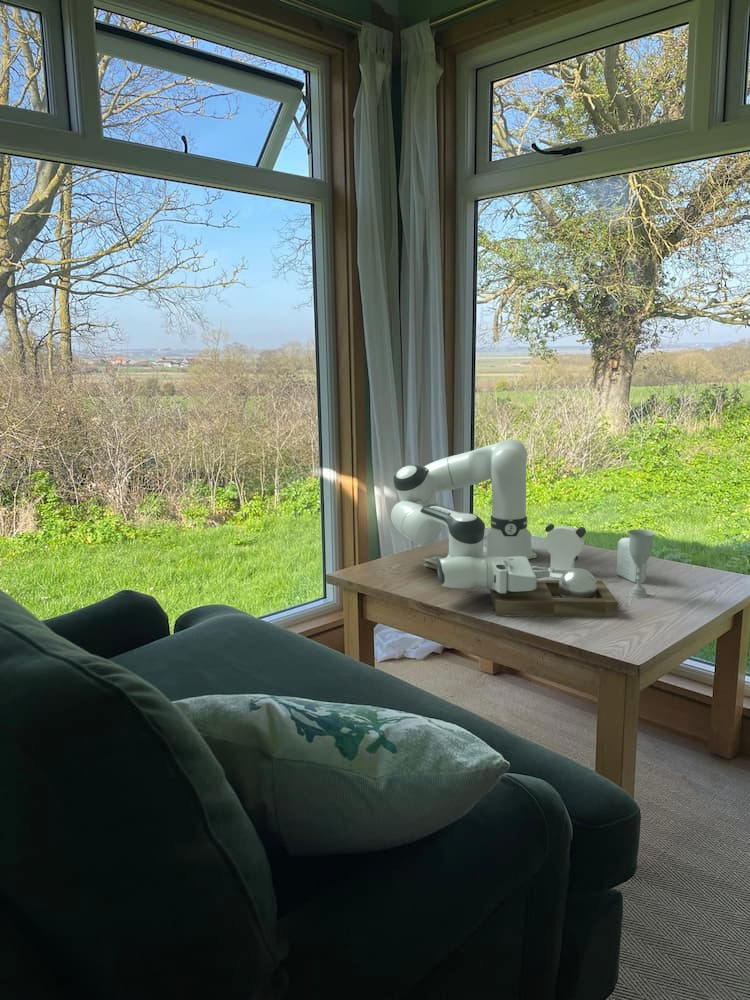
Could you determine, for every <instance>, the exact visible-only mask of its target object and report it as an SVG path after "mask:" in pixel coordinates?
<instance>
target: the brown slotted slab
mask: <svg viewBox="0 0 750 1000" xmlns="http://www.w3.org/2000/svg"><path fill="white" fill-rule="evenodd" d="M595 580H596V583H597V592H596V594H595V596H594V598H563V597H562V596H561V594H560V592H559V581H560V579H537V586H536V589H535V590H532V591H520V592H511V591H508V590H507V593H498V592H497V591H496V590H493V589H489V592H490V598H491V601H493V602H492V605H494V606H493V609H495V610H494V612H496V614H495V616H496V615H533V616H532V617H618V610H619V609H618V608H619V607H618V604H619V602H618V600H617V599H616V597H615V596H614V595H613V593H612V592H611V590H610V589H609V588H608V587H607V585H606V584H605V583H604V581H603V580H602V579H601V580H600V579H595ZM561 597H562V598H561Z"/></svg>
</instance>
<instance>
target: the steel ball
mask: <svg viewBox="0 0 750 1000" xmlns="http://www.w3.org/2000/svg"><path fill="white" fill-rule="evenodd" d="M559 580H560V581H559V592H560V594H561V596H560V597H562V598H594V596H595V594H596V592H597V583H596V580H597V579H596V578H595V577H594V575H593V574H592V573H591V572H590V571H588V570H587V569H584V568H579V567H574V568H573V569H570V570H568V571H566V572H565V573H564V574H563V575H562V576H561V578H560V579H559Z"/></svg>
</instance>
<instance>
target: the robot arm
mask: <svg viewBox="0 0 750 1000" xmlns="http://www.w3.org/2000/svg"><path fill="white" fill-rule="evenodd" d="M527 460H528V451H527V448H526V447H525V445H524V444H522V442H521V441H519V440H517V439H506V440H502V441H499V442H495V443H492V444H489V445H486V446H483V447H480V448H476V449H474V450H473V449H472V450H469V451H465V452H463V453H459V454H455V455H450V456H447V457H443V458H440V459H438V460H435V461H433V462H430V463H428V464H426V465H425V466H421V465H417V464H409V465H404V466H402V467H399V469H398V470H397V471H396V472H395V473H394V475H393V486H394V488H395V489H396V492H397V495H398V499H399V502H396V503H395V504H394V506H393V507H392V509H391V513H390V520H391V522H392V524H393V525H394V527H395V528H396V529H397V531H398V532H399V533H401V534H402V535H403V536H404V537H405V538H407V539H408V540H409V541H410V542H412V543H414V544H417V545H423V546H424V545H428V544H430V543H432V542H433V541H436V539H437V538H438V537H439V536H440V534H441V533H442V530H443V526H446V528H447V531H448V554H447V556H446V558H442V559H439V560H438V563H437V570H436V574H437V580H438V582H439V585H440V586H442V587H446V588H452V589H462V590H464V589H467V590H469V589H470V590H471V589H474V588H480V589H486V590H488V589H489V590H490V589H493V590H496V591H497V592H498V593H507V590H508V591H511V592H520V591H532V590H535V589H536V586H537V580H540V579H542V578H550V577H549V576H550V571H549V570H548V568H549V567H540V566H536V565H531V562H530V561H529V560H531V559H535V558H537V557H538V555H537V553H536V552H535V551H533V550H532V549H533V548H532V547H533V545H532V542H533V540H532V533H531V531H529V530H528V528H527V527H528V516H527ZM489 480H491V495H492V496H491V497H492V499H491V501H492V503H491V509H492V510H491V512H492V513H491V515H490V519H489V521H490V528H489V530H488V531H487V533H486V534H485V530H486V525H485V522H484V521H483V519H481V518H480V517H479V516H478V515H477V514H475V513H470V512H461V511H460V510H459V511H458V510H456V509H453V508H450V507H447V506H443V505H439V504H438V503H437V500H436V495H435V494H436V493H438V492H447V491H453V490H457V489H460V488H466V487H469V486H473V485H478V484H481V483H483V482H486V481H489ZM484 542H486V543H484Z"/></svg>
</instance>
